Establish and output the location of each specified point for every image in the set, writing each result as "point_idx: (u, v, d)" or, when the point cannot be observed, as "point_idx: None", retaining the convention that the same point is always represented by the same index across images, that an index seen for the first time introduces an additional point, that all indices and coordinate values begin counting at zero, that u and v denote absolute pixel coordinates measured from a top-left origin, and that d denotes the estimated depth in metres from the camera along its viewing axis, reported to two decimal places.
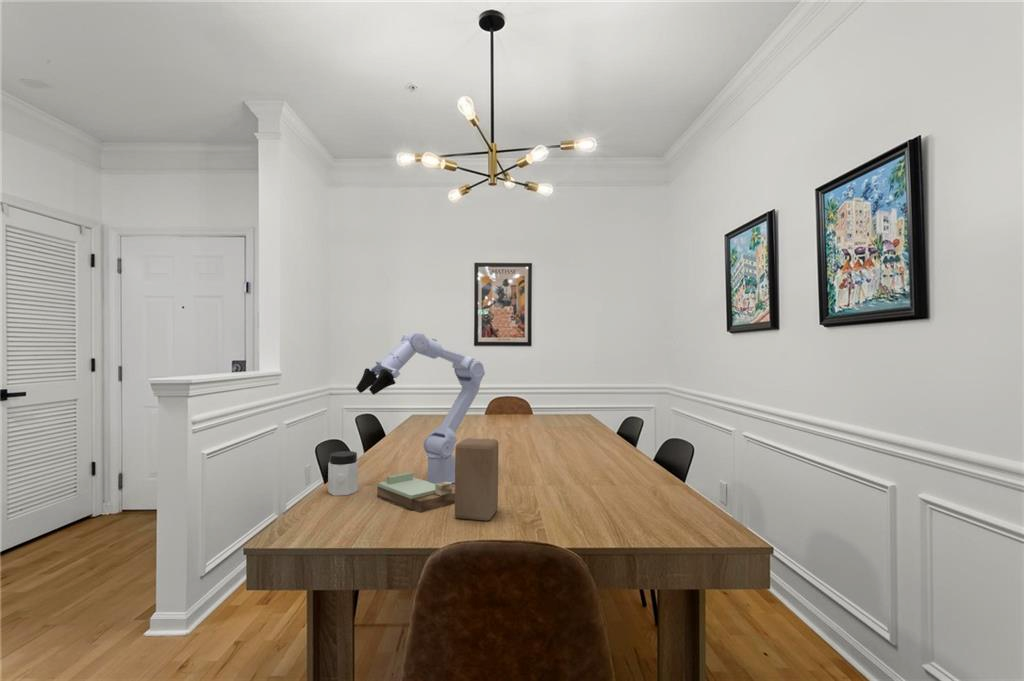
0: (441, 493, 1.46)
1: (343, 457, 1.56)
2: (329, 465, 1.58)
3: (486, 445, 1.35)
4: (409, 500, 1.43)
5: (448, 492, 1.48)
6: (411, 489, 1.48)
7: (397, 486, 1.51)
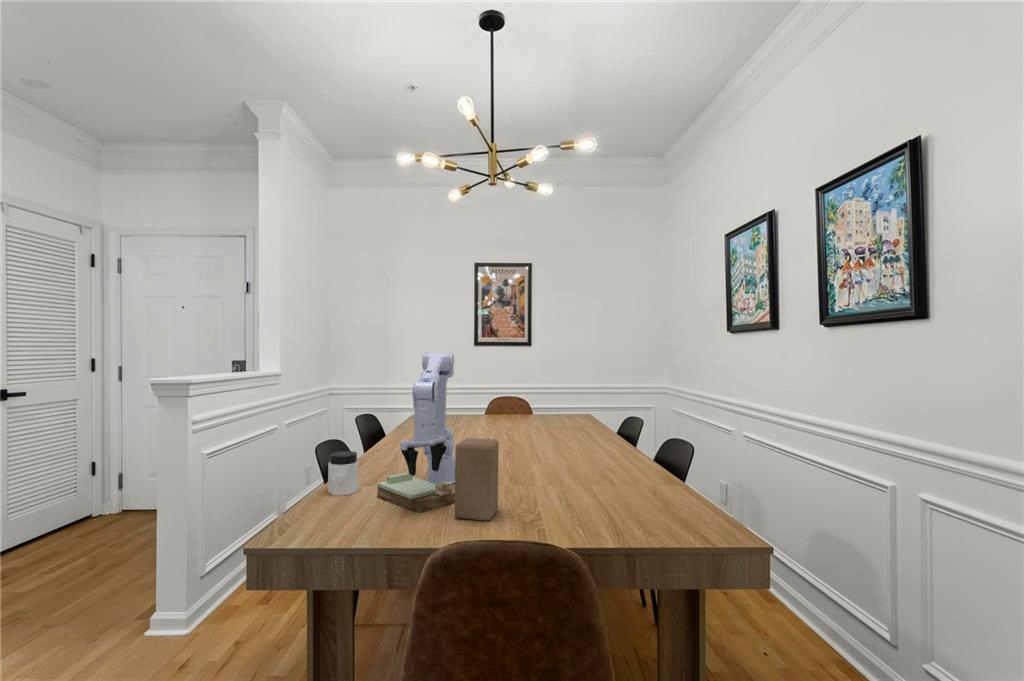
0: (441, 493, 1.46)
1: (343, 457, 1.56)
2: (329, 465, 1.58)
3: (486, 445, 1.35)
4: (409, 500, 1.43)
5: (448, 492, 1.48)
6: (411, 489, 1.48)
7: (397, 486, 1.51)
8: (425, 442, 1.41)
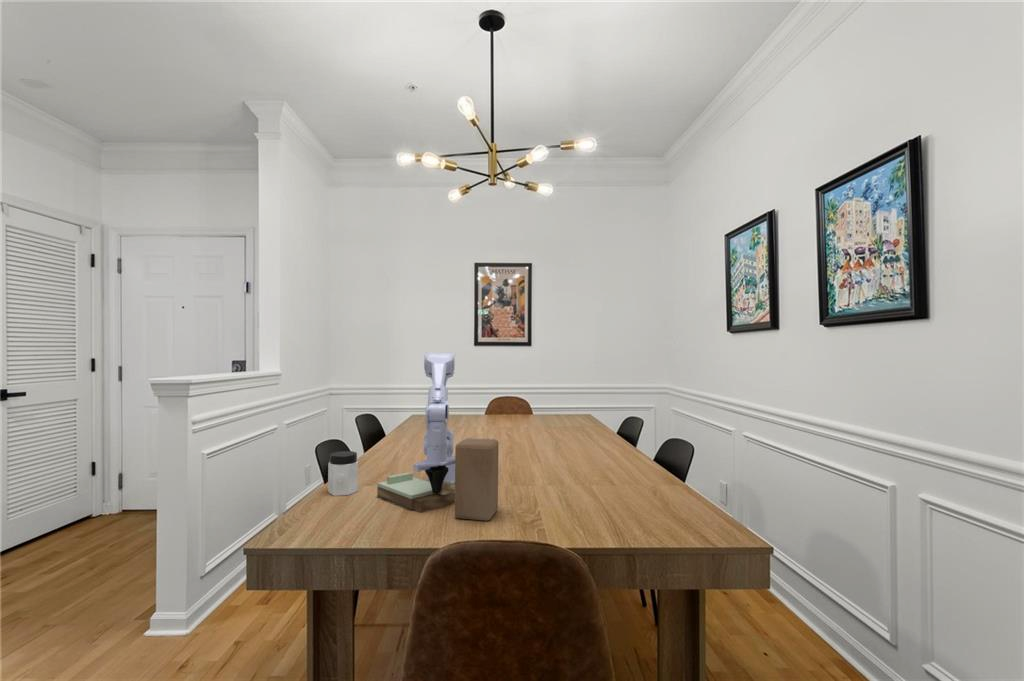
0: (443, 493, 1.46)
1: (343, 457, 1.56)
2: (329, 465, 1.58)
3: (486, 445, 1.35)
4: (409, 500, 1.43)
5: (450, 492, 1.48)
6: (411, 489, 1.48)
7: (397, 486, 1.51)
8: (438, 463, 1.43)
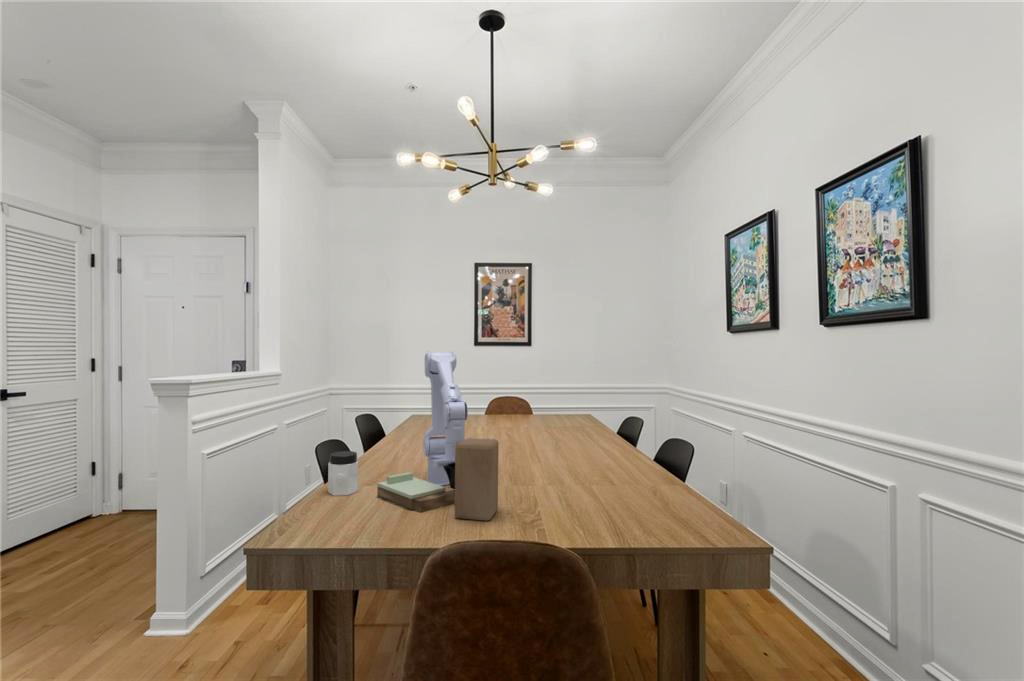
0: None
1: (343, 457, 1.56)
2: (329, 465, 1.58)
3: (486, 445, 1.35)
4: (409, 500, 1.43)
5: None
6: (411, 489, 1.48)
7: (397, 486, 1.51)
8: None
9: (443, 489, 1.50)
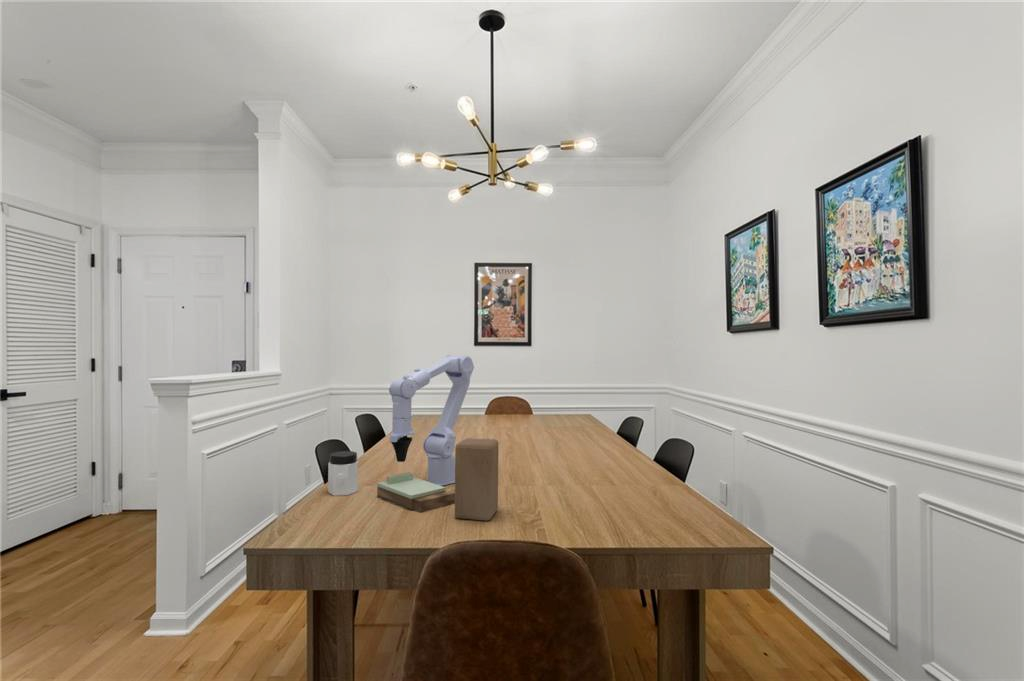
0: None
1: (343, 457, 1.56)
2: (329, 465, 1.58)
3: (486, 445, 1.35)
4: (409, 500, 1.43)
5: None
6: (411, 489, 1.48)
7: (397, 486, 1.51)
8: (408, 433, 1.57)
9: (443, 489, 1.50)
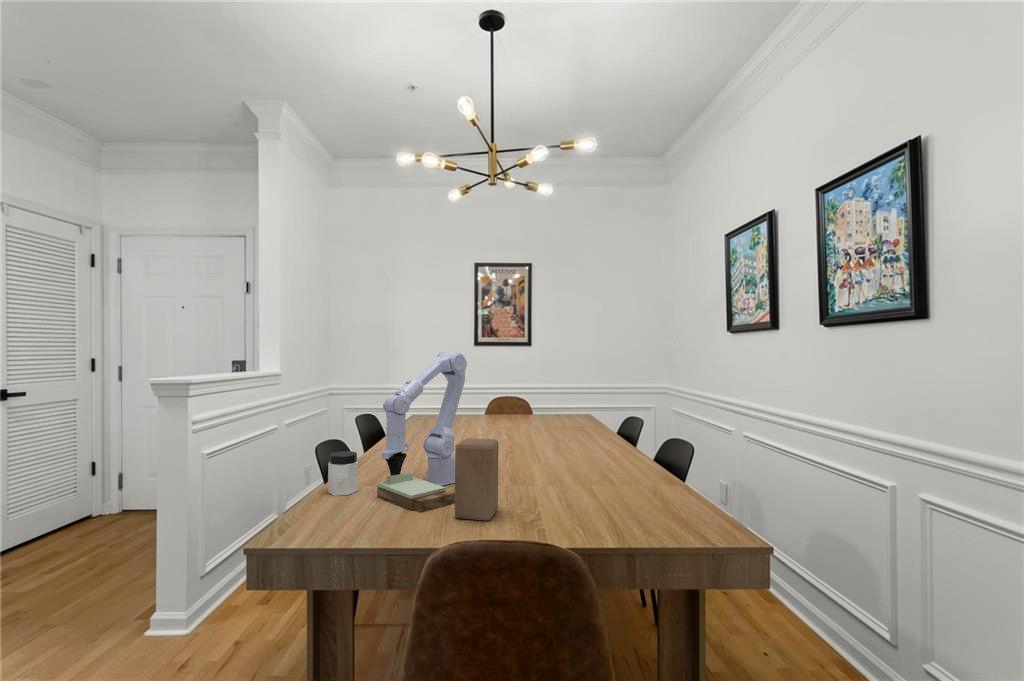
0: None
1: (343, 457, 1.56)
2: (329, 465, 1.58)
3: (486, 445, 1.35)
4: (409, 500, 1.43)
5: None
6: (411, 489, 1.48)
7: (397, 486, 1.51)
8: (401, 450, 1.57)
9: (443, 489, 1.50)
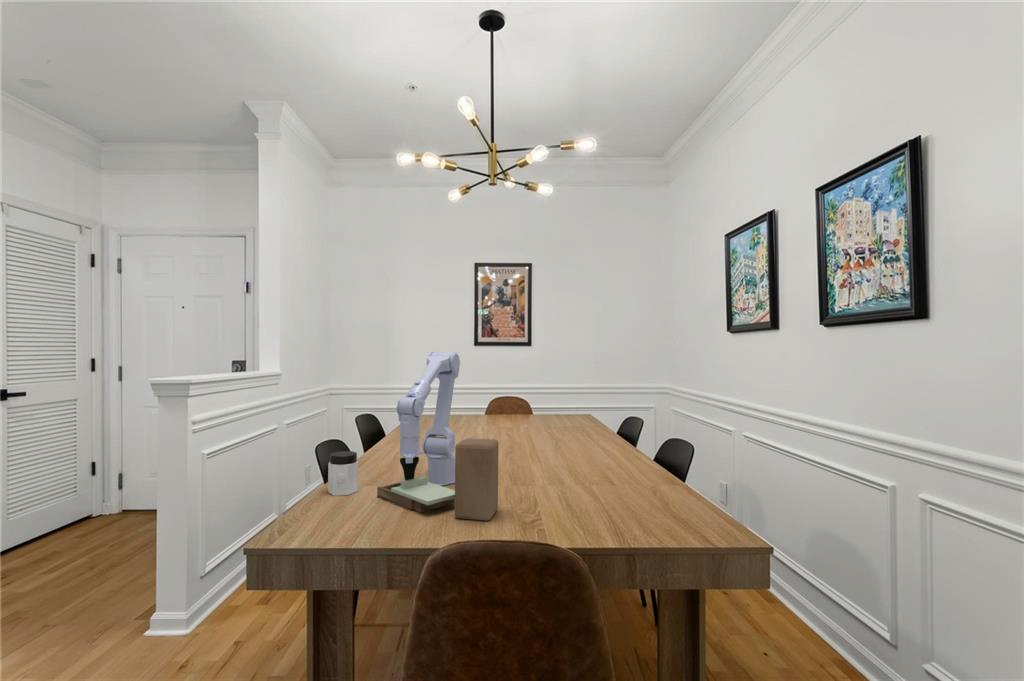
0: None
1: (343, 457, 1.56)
2: (329, 465, 1.58)
3: (486, 445, 1.35)
4: (409, 500, 1.43)
5: None
6: (426, 494, 1.43)
7: (412, 491, 1.46)
8: (418, 453, 1.53)
9: None
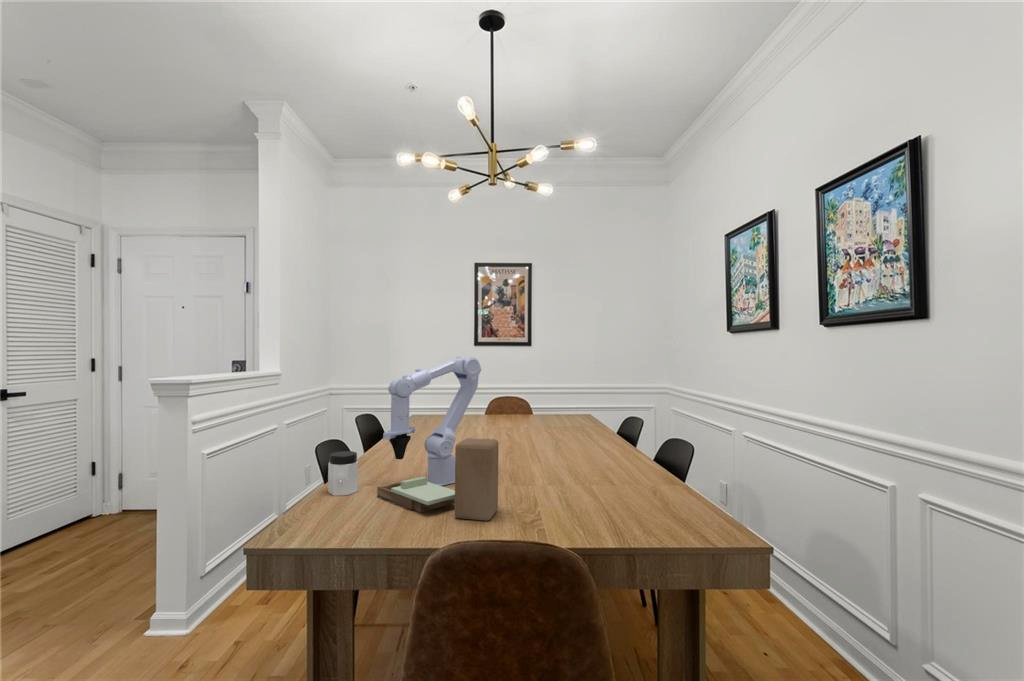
0: None
1: (343, 457, 1.56)
2: (329, 465, 1.58)
3: (486, 445, 1.35)
4: (409, 500, 1.43)
5: None
6: (426, 494, 1.43)
7: (412, 491, 1.46)
8: (404, 431, 1.60)
9: None
